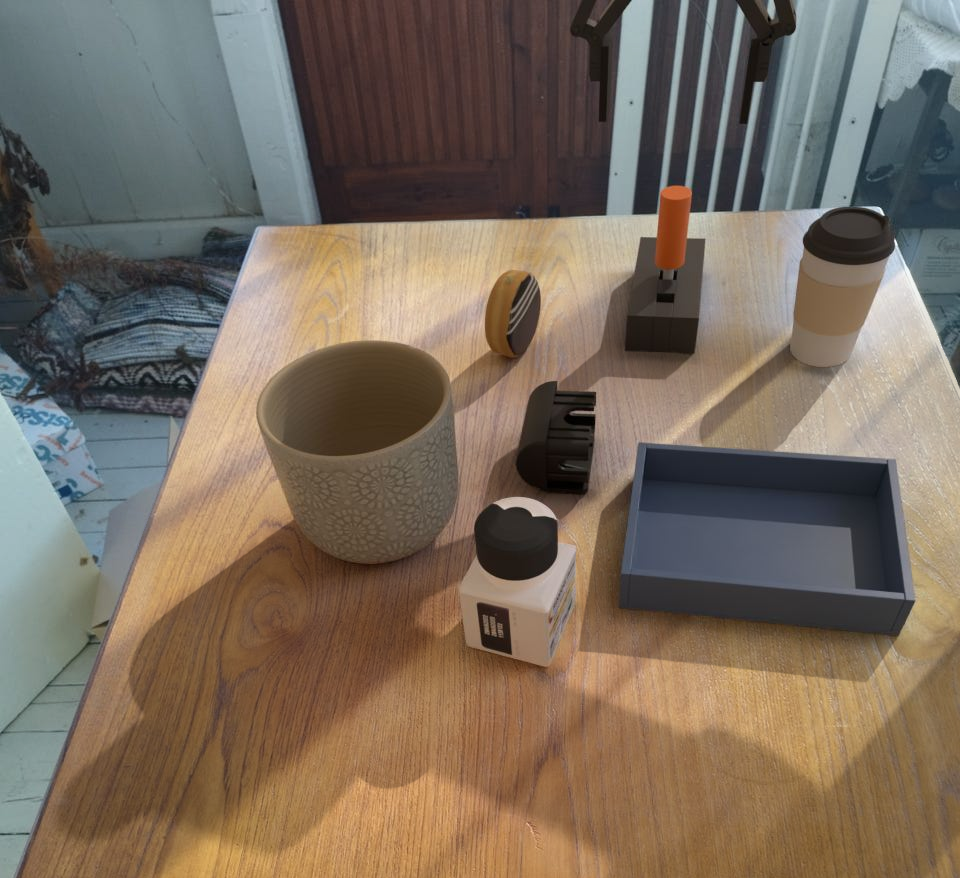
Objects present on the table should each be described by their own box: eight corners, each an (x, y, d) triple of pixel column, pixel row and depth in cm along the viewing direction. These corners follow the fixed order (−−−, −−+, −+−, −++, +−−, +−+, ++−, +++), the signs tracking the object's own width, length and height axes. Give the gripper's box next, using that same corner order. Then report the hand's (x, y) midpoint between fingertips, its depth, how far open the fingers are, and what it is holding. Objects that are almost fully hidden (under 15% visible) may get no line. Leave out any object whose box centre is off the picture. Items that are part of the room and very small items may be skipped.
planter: (499, 502, 87) (489, 371, 75) (397, 613, 79) (367, 484, 67) (369, 449, 94) (341, 321, 82) (262, 546, 86) (214, 419, 74)
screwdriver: (679, 302, 108) (692, 185, 97) (677, 318, 105) (691, 200, 94) (651, 301, 108) (661, 185, 97) (649, 316, 106) (659, 199, 95)
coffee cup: (775, 367, 98) (804, 236, 86) (783, 323, 103) (811, 194, 91) (860, 376, 96) (902, 243, 84) (863, 331, 101) (903, 200, 89)
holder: (701, 272, 111) (705, 238, 108) (694, 353, 101) (699, 318, 97) (638, 270, 113) (640, 236, 109) (624, 350, 102) (627, 315, 99)
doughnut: (511, 375, 101) (506, 294, 93) (483, 368, 102) (476, 288, 94) (545, 332, 106) (543, 252, 98) (517, 326, 107) (513, 247, 99)
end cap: (529, 432, 94) (527, 378, 89) (595, 434, 93) (597, 380, 88) (516, 494, 88) (513, 441, 83) (587, 498, 87) (588, 444, 82)
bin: (882, 495, 84) (896, 458, 80) (899, 636, 73) (916, 601, 70) (635, 477, 88) (638, 442, 85) (618, 607, 78) (620, 573, 74)
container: (548, 669, 74) (546, 564, 64) (465, 647, 76) (450, 542, 66) (576, 604, 78) (578, 495, 68) (496, 584, 80) (486, 477, 70)
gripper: (536, -155, 70) (541, 131, 86) (865, -171, 65) (804, 135, 81) (553, -175, 74) (555, 100, 91) (862, -192, 69) (805, 103, 86)
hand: (672, 117), depth 86 cm, fingers open, 13 cm apart
